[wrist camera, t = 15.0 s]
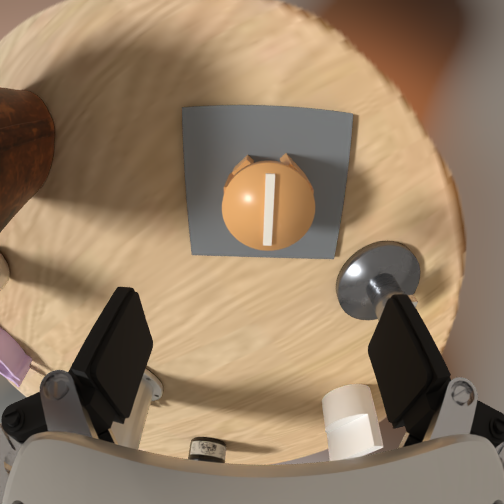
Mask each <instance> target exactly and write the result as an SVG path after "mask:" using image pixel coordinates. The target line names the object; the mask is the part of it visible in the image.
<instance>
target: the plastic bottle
mask: <svg viewBox="0 0 504 504" xmlns="http://www.w3.org/2000/svg"><path fill="white" fill-rule="evenodd" d="M9 275H10V271H9V267H8V264H7V262H6V260H5V259H4V257H3V256H2V254H1V253H0V290H2V289H3V288H4V287H5V285H6V284H7V282H8V280H9Z"/></svg>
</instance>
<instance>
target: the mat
mask: <svg viewBox="0 0 504 504" xmlns="http://www.w3.org/2000/svg"><path fill="white" fill-rule="evenodd" d="M352 123H353V114H352V113H345V112H338V111H330V110H321V109H312V108H300V107H286V106H265V105H219V106H197V107H183V108H182V125H183V151H184V169H185V185H186V198H187V211H188V222H189V232H190V242H191V252H192V255H207V256H239V257H273V258H308V259H334V256H335V251H336V245H337V240H338V234H339V228H340V222H341V216H342V209H343V203H344V196H345V188H346V181H347V173H348V164H349V155H350V146H351V135H352ZM285 153H287V155H288V156H289V157H290V158H291V159H292V160H293V161H294V162H295V163H296V164H297V165H298V166H299V168H300V169H301V170H302V171H303V172H304V173H305V175H306V176H307V178H308V180H309V182H310V183H311V185H312V188H313V190H314V193H313V195H314V200H315V215H314V219H313V222H312V224H311V226H310V228H309V230H308V231H307V233H306V234H305V235H304V236H303V237H302V238H301V239H300V240H299V241H297V242H296V243H294V244H293V245H291V246H289V247H286V248H283V249H279V250H273V251H264V250H258V249H254V248H251V247H248V246H246V245H244V244H243V243H241V242H240V241H238V240H237V239H236V238H235V237H234V236H233V235H232V234H231V233H230V231H229V230H228V228H227V226H226V224H225V222H224V219H223V215H222V201H223V196H224V185H225V183H226V181H227V178H228V176H229V174H230V173H232V171H233V169H234V167H235V166H236V165H237V164H238V163H239V162H241V161H242V160H243V159H244V158H245V157H246V156H247V155H249V156H250V157H251V158H252V159H253V160H254V162H253V163H255V162H259V161H278V162H281V161H280V158H281V157H282V156H283V155H284V154H285Z"/></svg>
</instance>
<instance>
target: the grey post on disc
mask: <svg viewBox="0 0 504 504" xmlns="http://www.w3.org/2000/svg"><path fill="white" fill-rule="evenodd" d="M419 279H420V266H419V263H418V261H417V259H416V257H415V256H414V255H413V253H412V252H411V251H410V250H409V249H408V248H407V247H406V246H404V245H403V244H400V243H398V242H394V241H380V242H376V243H372V244H370V245H367V246H365V247H363V248H362V249H360V250H359V251H357V252H356V253H355V254H353V255H352V256H351V257H350V258H349V259H348V260H347V261H346V263H345V264H344V265H343V267H342V269H341V270H340V272H339V275H338V278H337V282H336V293H337V297H338V300H339V303H340V305H341V307H342V309H343V310H344V311H345V312H346V313H347V314H348V315H350V316H351V317H354V318H356V319H361V320H375V319H378V320H380V317H381V315H382V312H383V310H384V307H385V304H386V302H387V300H388V299H389V298H391V296H392V295H394V294H407V295H408V296H409V298H410V299H411V301H412V303H413V304H414V306H415V307H416V305H417V303H418V301H417V300H416V298H415V296H414V295H413V294H414V292H415V290H416V288H417V286H418V283H419Z"/></svg>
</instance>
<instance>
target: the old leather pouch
mask: <svg viewBox="0 0 504 504" xmlns="http://www.w3.org/2000/svg"><path fill="white" fill-rule="evenodd" d="M54 133H55V132H54V124H53V120H52V118H51V116H50V114H49V112H48V109H47V107H46V106H45V104H44V103H43V101H42V100H41V99H40V98H39V97H38V96H37V95H35V94H34V93H32V92H30V91H26V90H14V89H8V88H0V232H1V231H2V230H3V228H4V227H5V226H6V225H7V224H8V223H9V221H10V220H11V219H12V218H13V217H14V216H15V215H16V213H17V212H18V211H19V210H20V209H21V208H22V207H23V206H24V205H25V204H26V203H27V202H28V200H29V199H30V198H31V197H32V196H33V195H34V194H35V193H36V192H37V191H38V190H39V189H40V188H41V187H42V185H43V184H44V182H45V180H46V178H47V176H48V174H49V170H50V167H51V163H52V159H53V153H54Z"/></svg>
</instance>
